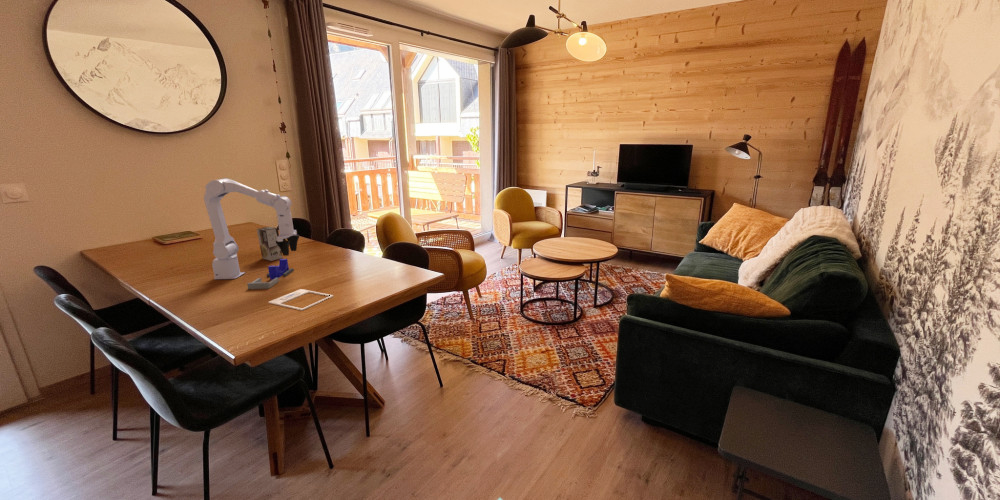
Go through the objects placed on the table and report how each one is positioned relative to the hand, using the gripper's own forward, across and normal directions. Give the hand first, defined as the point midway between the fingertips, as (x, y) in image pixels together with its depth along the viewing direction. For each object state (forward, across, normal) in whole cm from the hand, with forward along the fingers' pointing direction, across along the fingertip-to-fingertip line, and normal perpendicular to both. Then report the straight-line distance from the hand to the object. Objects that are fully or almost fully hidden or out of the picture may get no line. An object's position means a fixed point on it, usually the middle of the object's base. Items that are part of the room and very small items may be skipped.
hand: (290, 253), depth 183 cm
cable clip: (+10, -1, +6) cm, 12 cm away
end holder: (+10, -15, +6) cm, 19 cm away
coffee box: (+10, +26, +22) cm, 36 cm away
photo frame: (+10, -32, -18) cm, 38 cm away
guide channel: (+10, 0, +6) cm, 11 cm away
